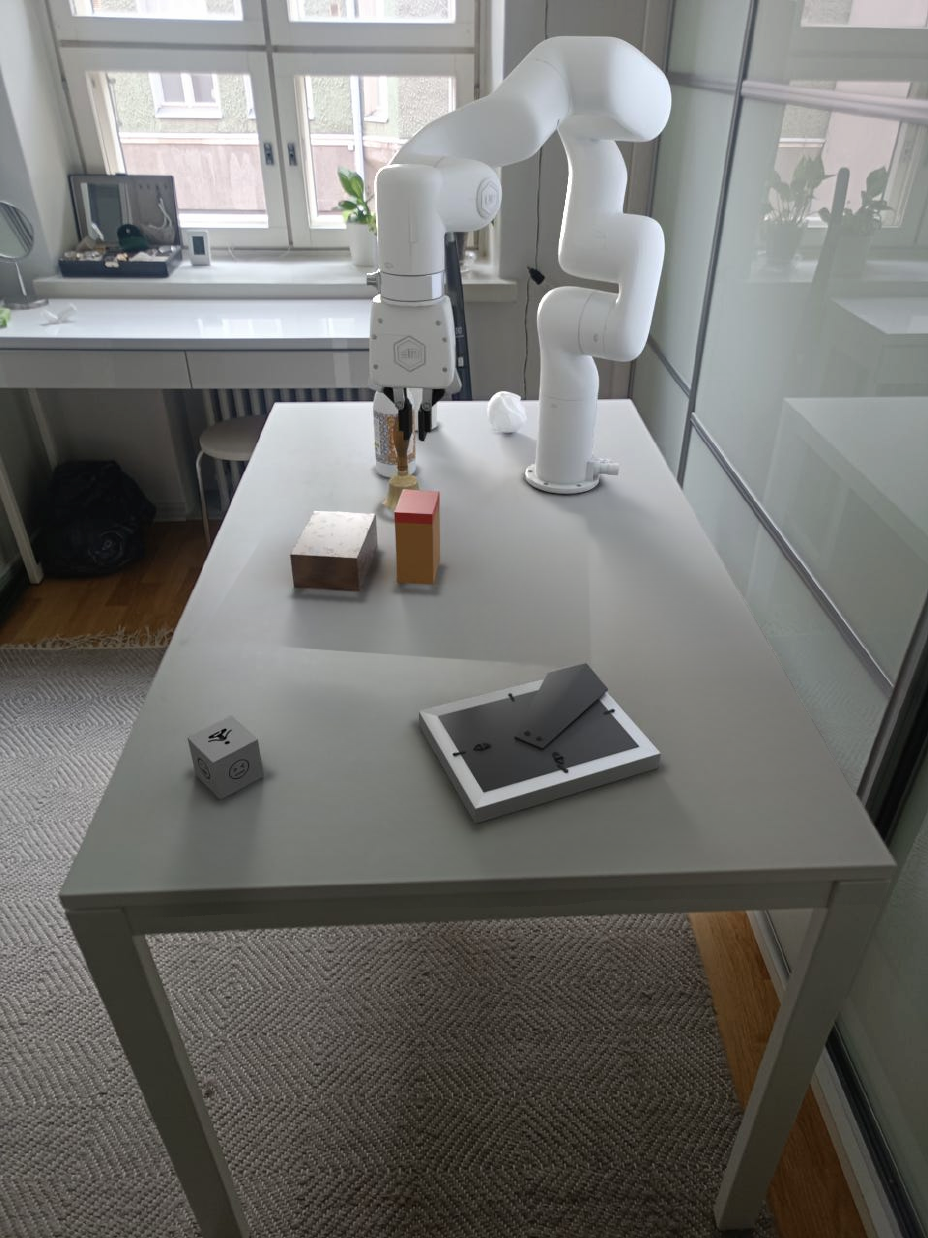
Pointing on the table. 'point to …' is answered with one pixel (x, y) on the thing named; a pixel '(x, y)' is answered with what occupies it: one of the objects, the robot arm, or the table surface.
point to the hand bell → (400, 470)
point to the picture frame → (535, 742)
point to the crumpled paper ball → (506, 412)
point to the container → (417, 536)
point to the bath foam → (390, 436)
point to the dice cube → (226, 757)
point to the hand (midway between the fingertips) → (415, 436)
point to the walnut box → (334, 551)
